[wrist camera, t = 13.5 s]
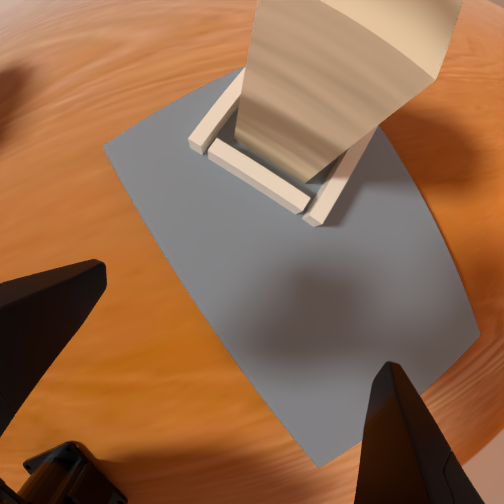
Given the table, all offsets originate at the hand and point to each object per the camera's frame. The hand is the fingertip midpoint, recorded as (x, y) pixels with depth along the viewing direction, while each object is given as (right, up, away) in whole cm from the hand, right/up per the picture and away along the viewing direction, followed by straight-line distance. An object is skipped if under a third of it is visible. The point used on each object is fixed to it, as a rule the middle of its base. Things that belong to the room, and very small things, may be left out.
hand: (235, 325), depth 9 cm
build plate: (+5, +2, +10) cm, 11 cm away
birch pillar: (+3, +9, +8) cm, 13 cm away
